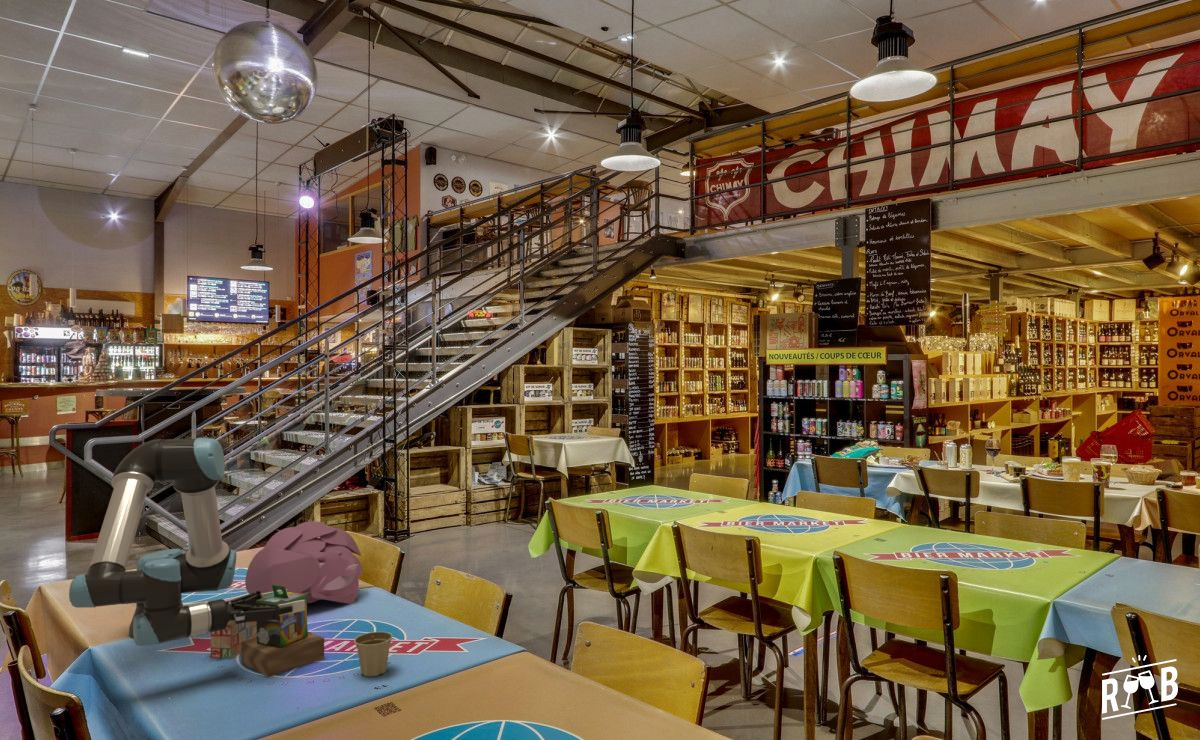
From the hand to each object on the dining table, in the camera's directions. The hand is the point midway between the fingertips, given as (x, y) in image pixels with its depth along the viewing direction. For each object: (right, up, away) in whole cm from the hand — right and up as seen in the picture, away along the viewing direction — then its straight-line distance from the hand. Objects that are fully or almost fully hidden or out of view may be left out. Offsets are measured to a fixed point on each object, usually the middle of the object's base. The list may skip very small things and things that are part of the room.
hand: (295, 599), depth 191 cm
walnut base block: (-2, -16, -2) cm, 16 cm away
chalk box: (-2, -10, -3) cm, 11 cm away
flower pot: (+25, -15, -11) cm, 31 cm away
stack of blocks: (-18, -16, +10) cm, 27 cm away
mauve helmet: (-14, -17, +47) cm, 52 cm away
